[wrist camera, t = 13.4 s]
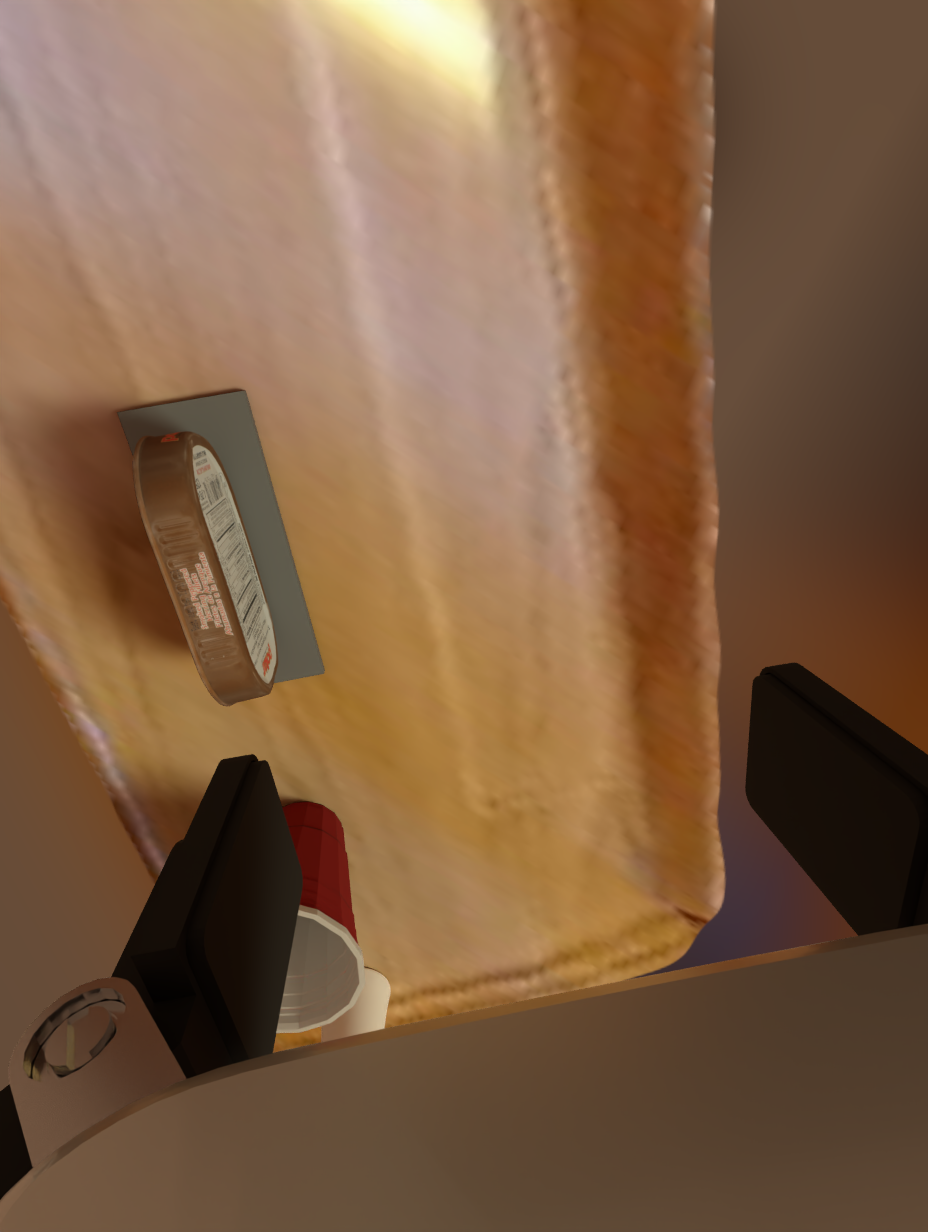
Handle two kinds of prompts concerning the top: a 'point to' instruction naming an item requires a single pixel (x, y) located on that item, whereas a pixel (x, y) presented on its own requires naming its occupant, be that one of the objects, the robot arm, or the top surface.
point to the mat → (245, 511)
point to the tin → (206, 564)
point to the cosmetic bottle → (362, 1010)
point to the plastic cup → (321, 925)
